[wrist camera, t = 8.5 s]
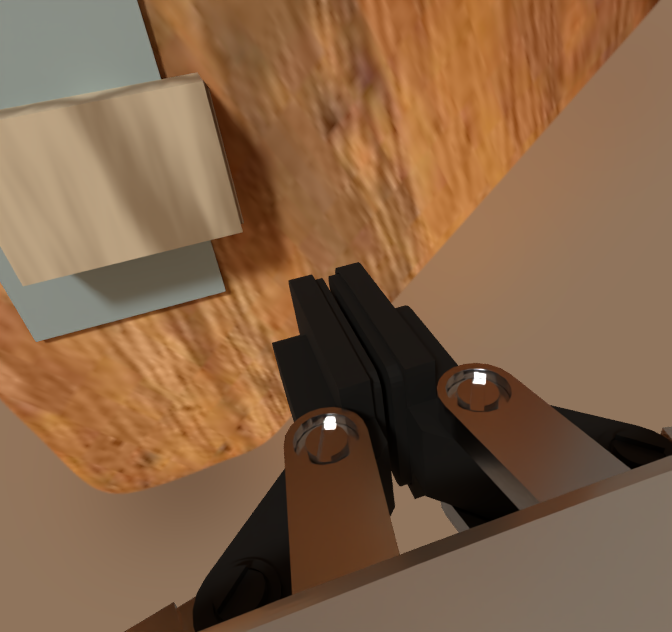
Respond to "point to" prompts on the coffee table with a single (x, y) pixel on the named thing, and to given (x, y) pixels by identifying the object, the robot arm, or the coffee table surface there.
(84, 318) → the grey mat
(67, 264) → the birch block
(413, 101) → the coffee table surface
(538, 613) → the robot arm
